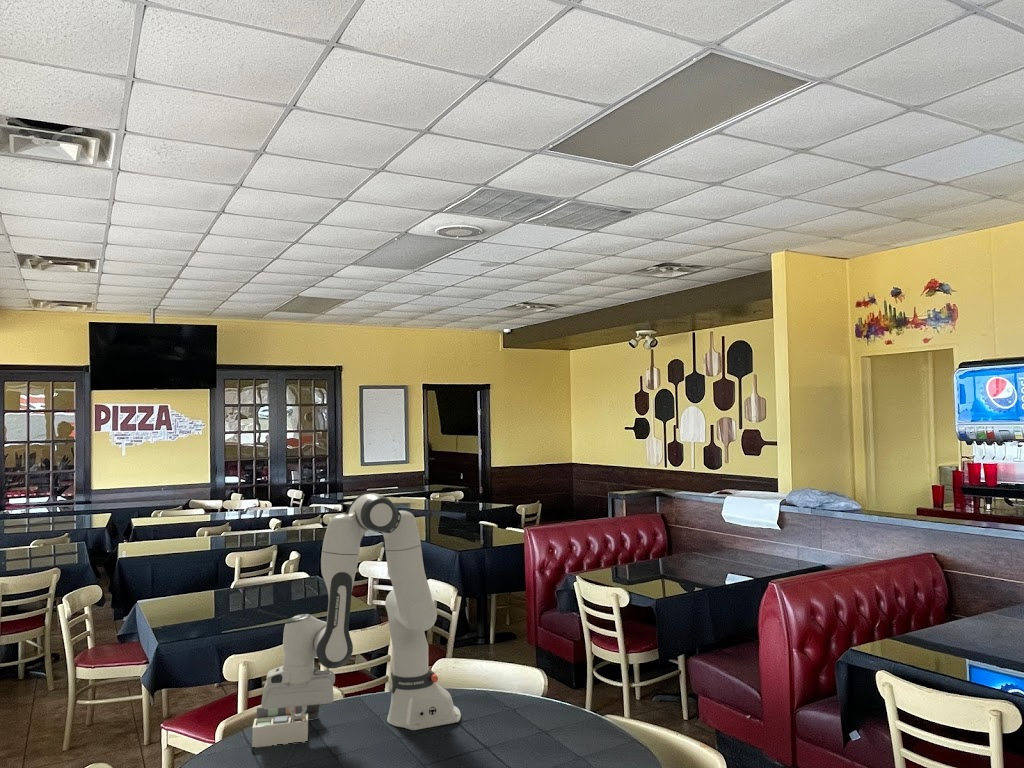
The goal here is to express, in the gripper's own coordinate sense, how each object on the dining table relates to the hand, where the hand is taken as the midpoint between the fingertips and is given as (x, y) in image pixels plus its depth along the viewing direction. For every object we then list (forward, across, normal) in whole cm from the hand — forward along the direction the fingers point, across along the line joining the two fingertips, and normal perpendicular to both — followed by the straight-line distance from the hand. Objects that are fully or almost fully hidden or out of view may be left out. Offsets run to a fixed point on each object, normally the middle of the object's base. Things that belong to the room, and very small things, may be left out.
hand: (297, 721), depth 220 cm
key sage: (+2, +10, 0) cm, 10 cm away
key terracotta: (+2, 0, 0) cm, 2 cm away
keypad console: (+5, +5, -1) cm, 7 cm away
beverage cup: (+5, -3, -15) cm, 16 cm away
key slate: (+1, +5, 0) cm, 5 cm away
